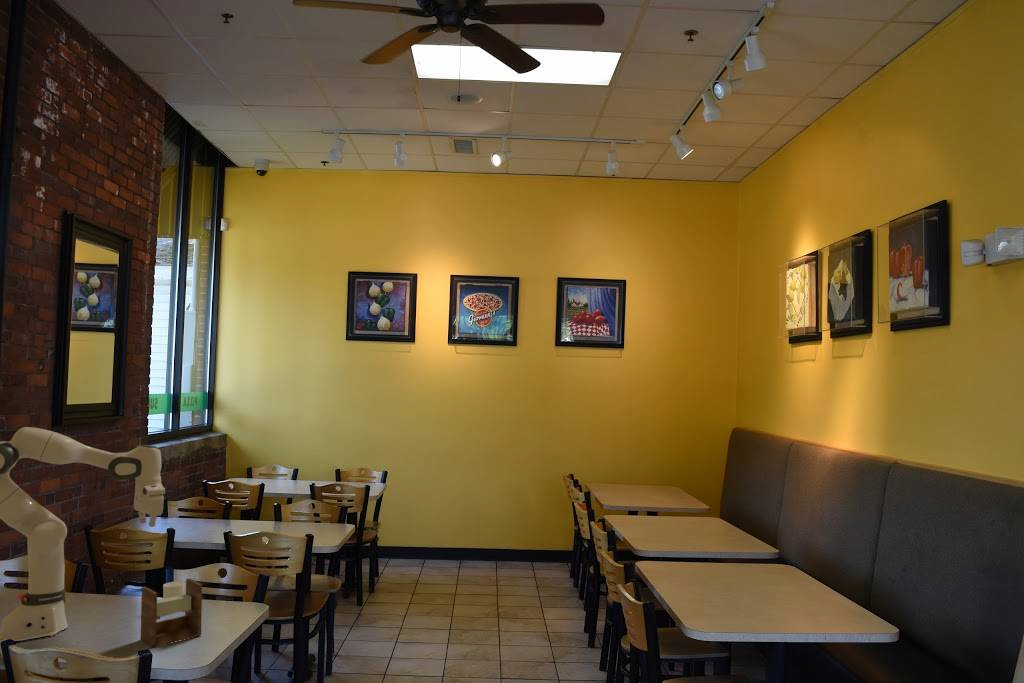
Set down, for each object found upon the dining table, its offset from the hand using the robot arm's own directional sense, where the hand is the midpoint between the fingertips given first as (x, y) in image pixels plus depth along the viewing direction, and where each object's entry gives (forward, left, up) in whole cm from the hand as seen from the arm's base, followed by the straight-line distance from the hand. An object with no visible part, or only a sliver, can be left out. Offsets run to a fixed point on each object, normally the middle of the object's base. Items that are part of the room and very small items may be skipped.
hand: (147, 524), depth 285 cm
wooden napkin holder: (-1, -28, -35) cm, 45 cm away
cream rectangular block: (-1, -28, -26) cm, 38 cm away
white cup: (+12, +4, -35) cm, 38 cm away
